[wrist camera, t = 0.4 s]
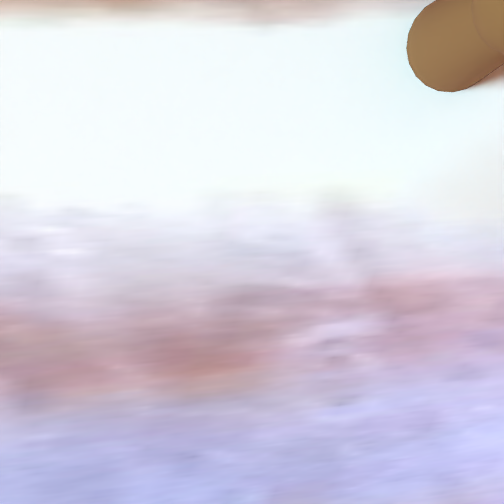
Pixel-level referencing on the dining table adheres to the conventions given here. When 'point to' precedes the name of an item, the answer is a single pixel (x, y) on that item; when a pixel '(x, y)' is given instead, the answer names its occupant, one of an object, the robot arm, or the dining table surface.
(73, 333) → the dining table surface
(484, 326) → the dining table surface
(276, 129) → the dining table surface
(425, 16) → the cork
